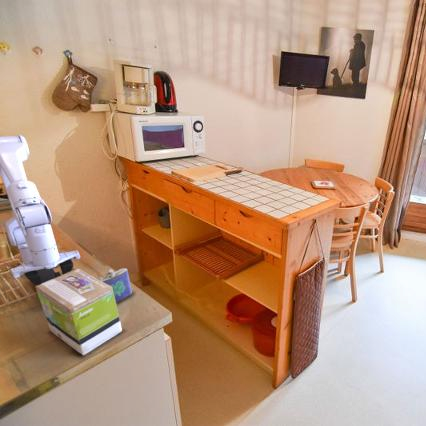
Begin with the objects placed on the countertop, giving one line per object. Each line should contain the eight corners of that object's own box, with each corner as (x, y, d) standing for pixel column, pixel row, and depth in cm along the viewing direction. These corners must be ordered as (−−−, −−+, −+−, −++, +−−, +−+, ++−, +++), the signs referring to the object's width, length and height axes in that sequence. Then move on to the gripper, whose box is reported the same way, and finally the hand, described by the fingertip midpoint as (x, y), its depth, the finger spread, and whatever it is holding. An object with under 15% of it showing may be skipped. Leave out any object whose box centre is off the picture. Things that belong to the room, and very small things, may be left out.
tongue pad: (33, 281, 99) (30, 272, 98) (53, 275, 103) (50, 265, 102) (44, 299, 92) (41, 289, 91) (65, 291, 96) (63, 282, 95)
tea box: (48, 332, 81) (33, 285, 75) (90, 310, 90) (79, 266, 84) (82, 357, 75) (68, 307, 69) (124, 331, 83) (114, 285, 78)
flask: (129, 291, 98) (123, 261, 94) (134, 294, 97) (129, 265, 93) (97, 306, 91) (89, 275, 87) (102, 311, 90) (94, 279, 86)
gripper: (9, 262, 78) (25, 306, 83) (79, 243, 89) (89, 283, 94) (3, 251, 82) (19, 294, 87) (71, 234, 93) (81, 273, 98)
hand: (55, 287), depth 91 cm, fingers closed on slot pad, 5 cm apart
